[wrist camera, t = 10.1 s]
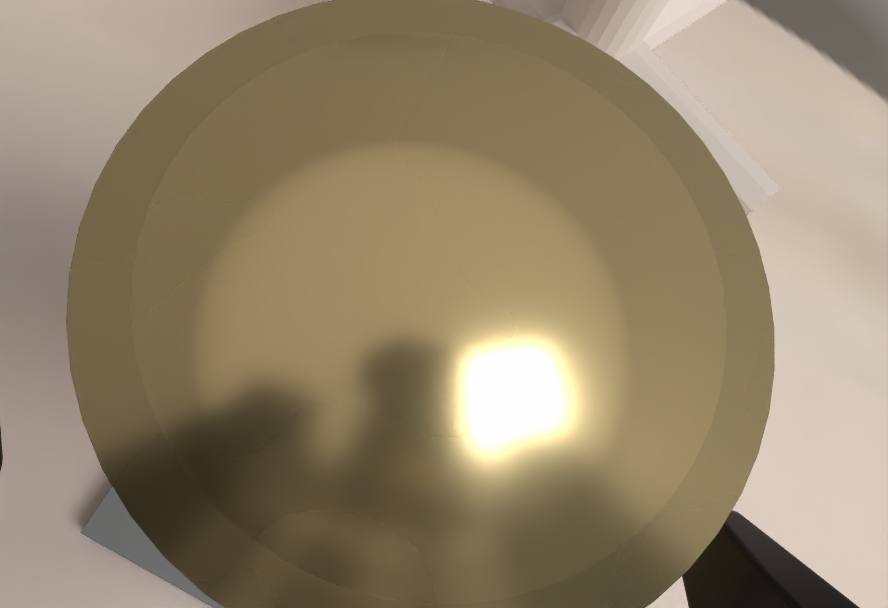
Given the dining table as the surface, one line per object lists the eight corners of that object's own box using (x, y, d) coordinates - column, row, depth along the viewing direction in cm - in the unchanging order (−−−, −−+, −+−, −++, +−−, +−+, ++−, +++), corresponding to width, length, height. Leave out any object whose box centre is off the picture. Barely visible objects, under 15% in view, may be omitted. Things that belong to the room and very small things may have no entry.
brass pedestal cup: (417, 655, 15) (682, 1005, 4) (164, 512, 15) (-285, 455, 4) (537, 403, 17) (924, 167, 6) (316, 279, 17) (301, -176, 6)
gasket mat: (444, 734, 15) (446, 738, 15) (84, 532, 15) (80, 532, 15) (593, 394, 18) (598, 392, 18) (294, 227, 18) (293, 222, 18)
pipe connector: (281, 115, 19) (242, -285, 10) (540, -29, 22) (698, -434, 13) (510, 400, 18) (722, 250, 8) (752, 202, 21) (1103, -68, 12)
